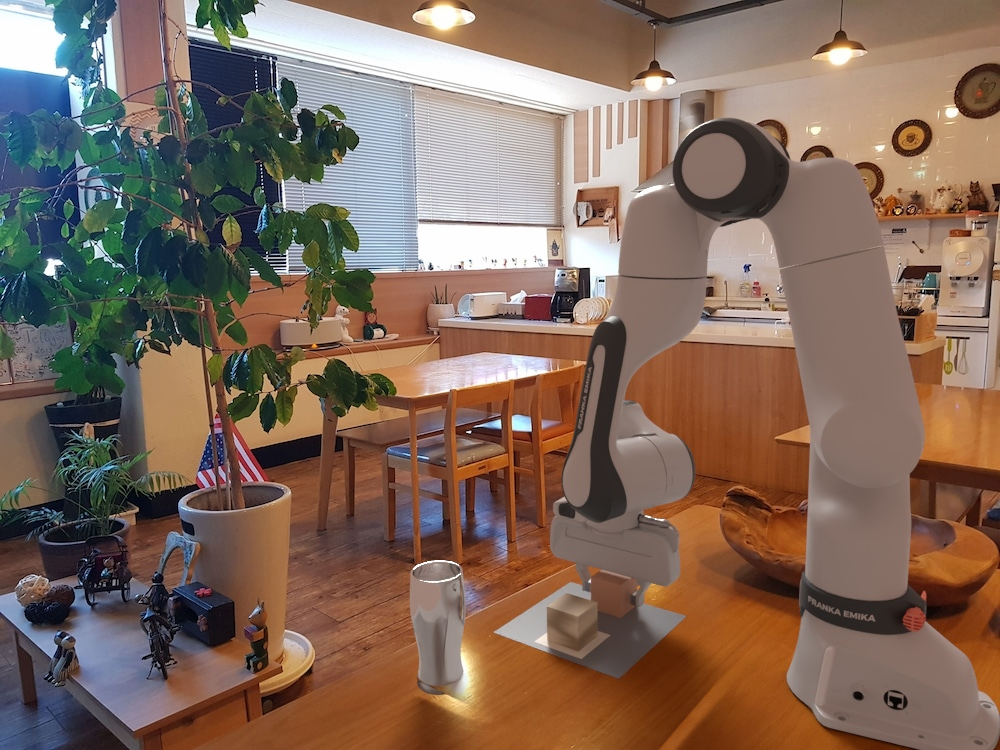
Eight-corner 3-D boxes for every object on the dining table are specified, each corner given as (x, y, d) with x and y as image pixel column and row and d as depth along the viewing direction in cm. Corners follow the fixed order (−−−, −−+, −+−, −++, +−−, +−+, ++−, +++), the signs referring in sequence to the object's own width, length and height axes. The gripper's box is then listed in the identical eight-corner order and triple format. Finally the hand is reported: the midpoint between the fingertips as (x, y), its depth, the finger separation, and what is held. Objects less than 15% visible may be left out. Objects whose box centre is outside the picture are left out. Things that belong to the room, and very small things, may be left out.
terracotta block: (637, 604, 112) (637, 573, 112) (620, 617, 109) (620, 585, 108) (607, 596, 115) (607, 565, 115) (591, 608, 112) (590, 577, 111)
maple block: (597, 636, 103) (597, 602, 103) (578, 651, 100) (577, 616, 99) (567, 625, 107) (566, 593, 106) (547, 640, 103) (546, 606, 102)
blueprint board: (686, 623, 109) (686, 615, 109) (618, 687, 93) (618, 678, 93) (570, 588, 121) (570, 581, 121) (493, 640, 106) (493, 632, 105)
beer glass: (402, 689, 94) (397, 576, 92) (432, 662, 100) (428, 556, 98) (450, 703, 91) (445, 587, 89) (478, 674, 97) (474, 565, 95)
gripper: (688, 516, 106) (687, 608, 108) (566, 491, 118) (567, 573, 120) (669, 529, 101) (668, 625, 103) (543, 501, 113) (545, 588, 115)
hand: (612, 597), depth 112 cm, fingers open, 7 cm apart
